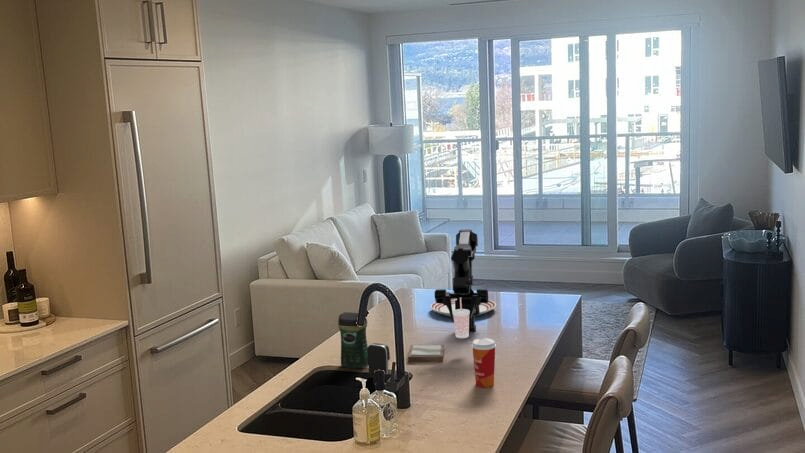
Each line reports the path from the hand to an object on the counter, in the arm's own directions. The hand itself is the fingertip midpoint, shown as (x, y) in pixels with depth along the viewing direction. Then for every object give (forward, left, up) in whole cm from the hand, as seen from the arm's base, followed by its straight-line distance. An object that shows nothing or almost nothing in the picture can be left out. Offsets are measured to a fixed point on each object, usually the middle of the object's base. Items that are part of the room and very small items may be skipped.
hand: (461, 317), depth 271 cm
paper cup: (+28, +8, -14) cm, 32 cm away
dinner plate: (-54, 0, -14) cm, 56 cm away
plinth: (+1, -12, -13) cm, 18 cm away
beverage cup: (-1, 0, -7) cm, 7 cm away
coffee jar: (+9, -36, -14) cm, 40 cm away
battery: (+21, -26, -14) cm, 36 cm away
